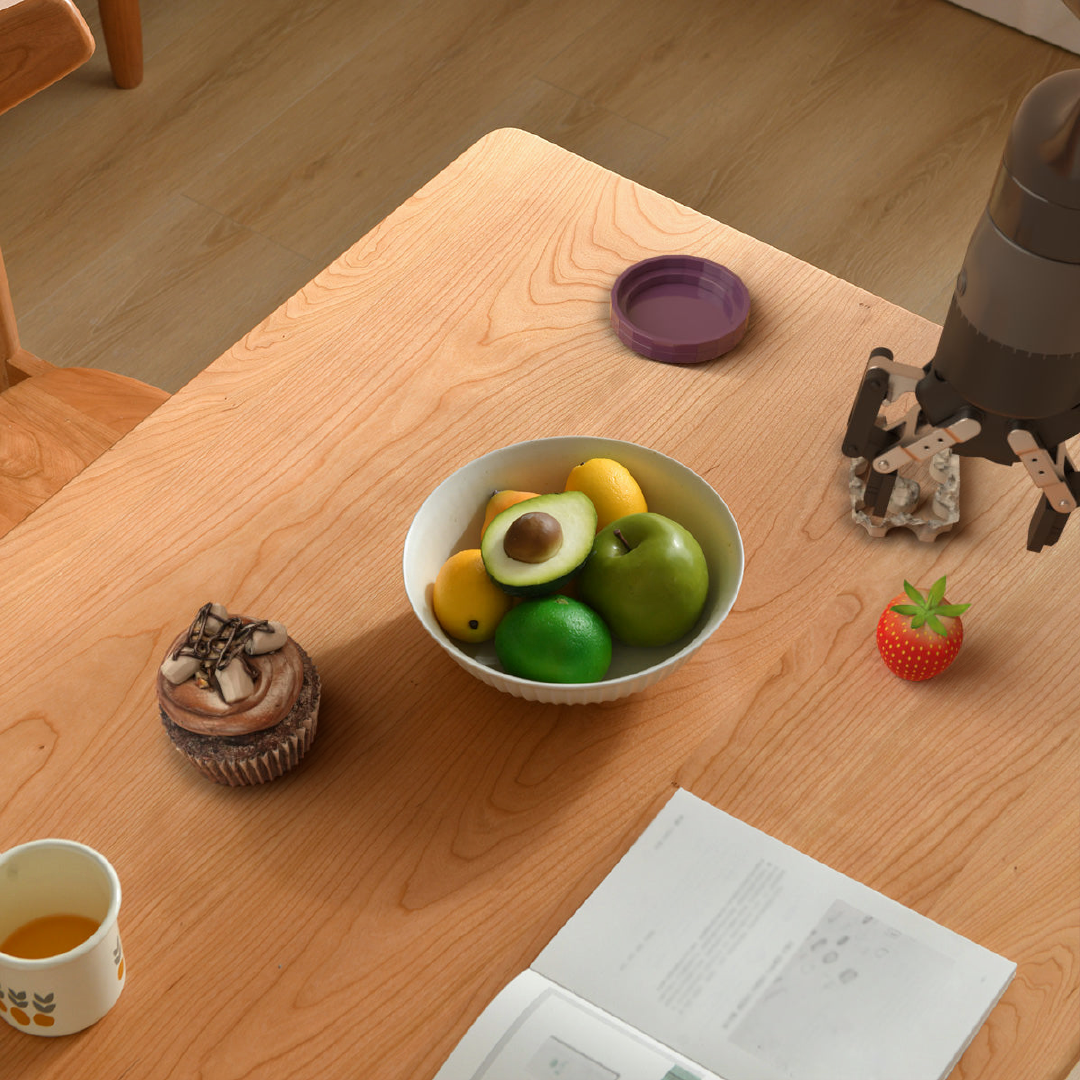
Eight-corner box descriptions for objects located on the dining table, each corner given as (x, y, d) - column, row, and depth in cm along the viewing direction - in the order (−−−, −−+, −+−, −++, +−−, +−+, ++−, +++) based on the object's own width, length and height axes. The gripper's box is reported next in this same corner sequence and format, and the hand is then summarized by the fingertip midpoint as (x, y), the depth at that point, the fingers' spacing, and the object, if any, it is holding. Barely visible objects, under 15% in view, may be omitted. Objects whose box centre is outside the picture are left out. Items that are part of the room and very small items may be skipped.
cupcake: (152, 795, 82) (111, 702, 74) (205, 665, 88) (172, 567, 80) (306, 819, 80) (280, 727, 73) (348, 685, 87) (329, 587, 79)
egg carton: (846, 439, 101) (855, 399, 98) (949, 453, 100) (962, 412, 97) (839, 546, 94) (849, 506, 91) (950, 561, 93) (964, 522, 90)
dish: (758, 293, 112) (762, 268, 110) (730, 381, 105) (734, 355, 103) (629, 269, 114) (630, 244, 112) (593, 353, 107) (594, 328, 105)
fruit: (952, 708, 85) (983, 632, 79) (869, 704, 86) (893, 628, 79) (940, 639, 89) (969, 561, 83) (861, 636, 89) (884, 558, 83)
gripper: (1195, 277, 65) (1088, 505, 77) (896, 222, 67) (839, 450, 80) (1196, 379, 60) (1082, 604, 72) (875, 316, 63) (818, 543, 75)
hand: (955, 523), depth 76 cm, fingers open, 8 cm apart
